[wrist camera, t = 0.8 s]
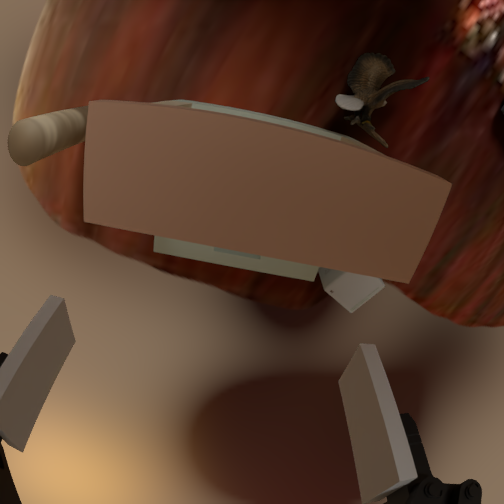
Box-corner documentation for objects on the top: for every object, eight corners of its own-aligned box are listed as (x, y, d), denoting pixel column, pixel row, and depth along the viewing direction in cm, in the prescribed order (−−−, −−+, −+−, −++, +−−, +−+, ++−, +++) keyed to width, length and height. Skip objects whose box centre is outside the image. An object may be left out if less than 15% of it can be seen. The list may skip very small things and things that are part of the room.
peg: (90, 103, 28) (8, 119, 16) (117, 104, 28) (40, 119, 16) (87, 133, 30) (8, 164, 17) (113, 135, 30) (39, 167, 18)
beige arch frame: (166, 94, 25) (88, 101, 12) (366, 139, 26) (452, 184, 14) (156, 160, 28) (83, 221, 15) (347, 200, 29) (408, 283, 17)
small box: (342, 292, 40) (351, 315, 36) (315, 267, 38) (322, 290, 34) (374, 265, 38) (387, 286, 34) (349, 237, 36) (361, 257, 32)
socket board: (180, 99, 28) (171, 100, 25) (348, 136, 30) (360, 142, 27) (162, 235, 36) (153, 251, 32) (308, 263, 38) (313, 281, 34)
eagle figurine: (392, 148, 29) (434, 84, 24) (380, 149, 24) (431, 69, 19) (337, 109, 31) (374, 47, 26) (313, 103, 26) (357, 27, 21)
